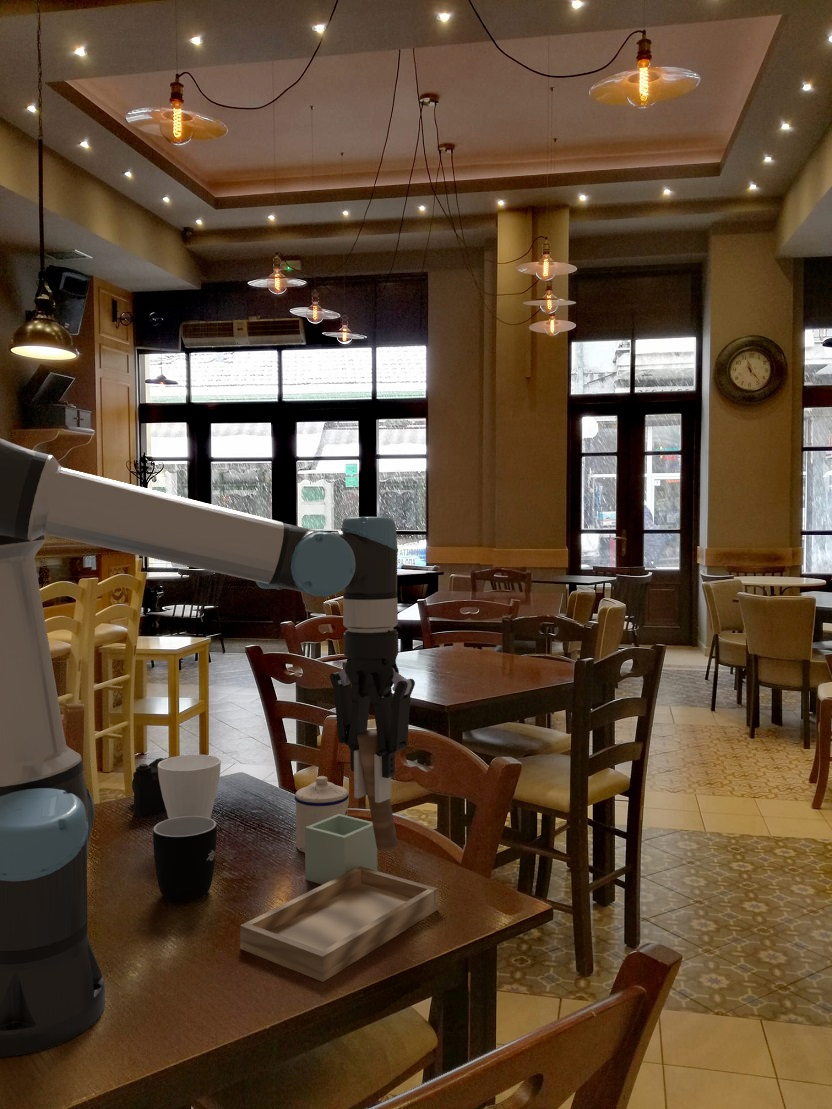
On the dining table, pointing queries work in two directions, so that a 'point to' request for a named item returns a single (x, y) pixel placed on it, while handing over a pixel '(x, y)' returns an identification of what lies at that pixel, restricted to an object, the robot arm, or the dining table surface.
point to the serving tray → (338, 922)
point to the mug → (185, 857)
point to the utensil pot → (338, 847)
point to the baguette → (379, 811)
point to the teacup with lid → (318, 805)
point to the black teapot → (147, 790)
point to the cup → (189, 784)
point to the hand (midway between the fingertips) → (372, 797)
